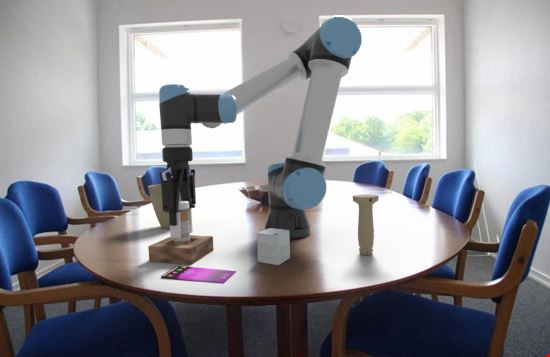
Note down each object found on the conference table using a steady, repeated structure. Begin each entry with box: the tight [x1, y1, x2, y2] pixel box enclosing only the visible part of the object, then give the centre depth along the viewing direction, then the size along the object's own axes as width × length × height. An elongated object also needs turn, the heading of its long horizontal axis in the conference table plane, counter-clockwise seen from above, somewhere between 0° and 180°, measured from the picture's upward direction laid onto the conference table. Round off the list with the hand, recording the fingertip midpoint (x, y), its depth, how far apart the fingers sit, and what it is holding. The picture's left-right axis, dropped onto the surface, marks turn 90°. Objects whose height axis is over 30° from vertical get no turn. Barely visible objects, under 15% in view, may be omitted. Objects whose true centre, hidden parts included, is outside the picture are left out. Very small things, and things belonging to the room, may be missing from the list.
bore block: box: [148, 234, 214, 266], centre depth 88 cm, size 12×12×4 cm
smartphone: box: [160, 265, 237, 284], centre depth 74 cm, size 7×15×1 cm, turn 74°
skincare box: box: [256, 228, 291, 266], centre depth 82 cm, size 6×6×7 cm
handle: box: [352, 193, 380, 256], centre depth 84 cm, size 5×6×15 cm
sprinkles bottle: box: [173, 201, 191, 245], centre depth 87 cm, size 5×5×13 cm
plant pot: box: [147, 183, 182, 230], centre depth 125 cm, size 15×15×16 cm
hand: (181, 234), depth 88 cm, fingers open, 5 cm apart
